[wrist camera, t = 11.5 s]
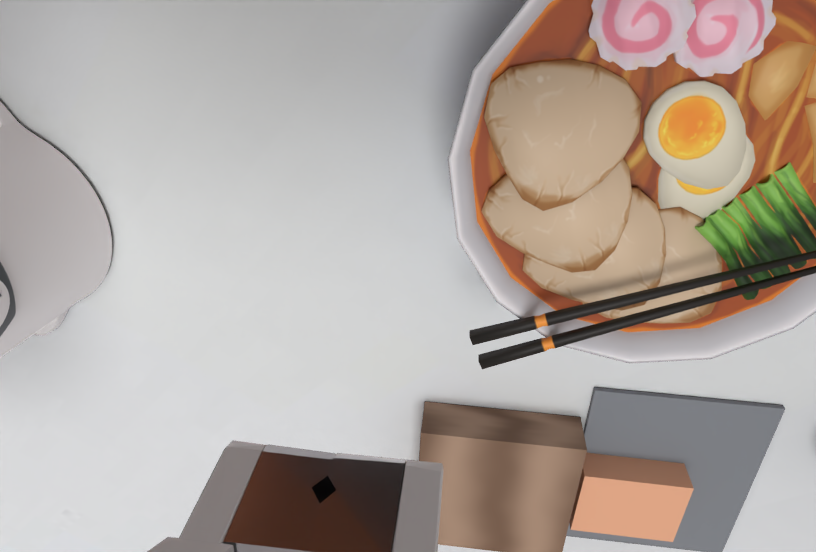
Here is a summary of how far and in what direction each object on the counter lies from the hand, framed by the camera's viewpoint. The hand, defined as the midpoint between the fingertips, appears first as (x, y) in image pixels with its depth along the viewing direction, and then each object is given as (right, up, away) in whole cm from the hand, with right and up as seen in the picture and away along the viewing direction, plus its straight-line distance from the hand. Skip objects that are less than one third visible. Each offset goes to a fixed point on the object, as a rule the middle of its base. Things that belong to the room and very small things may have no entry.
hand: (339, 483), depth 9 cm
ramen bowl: (+15, +11, +28) cm, 34 cm away
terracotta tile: (+18, -14, +41) cm, 47 cm away
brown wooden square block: (+8, -13, +42) cm, 44 cm away
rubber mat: (+21, -13, +40) cm, 47 cm away
